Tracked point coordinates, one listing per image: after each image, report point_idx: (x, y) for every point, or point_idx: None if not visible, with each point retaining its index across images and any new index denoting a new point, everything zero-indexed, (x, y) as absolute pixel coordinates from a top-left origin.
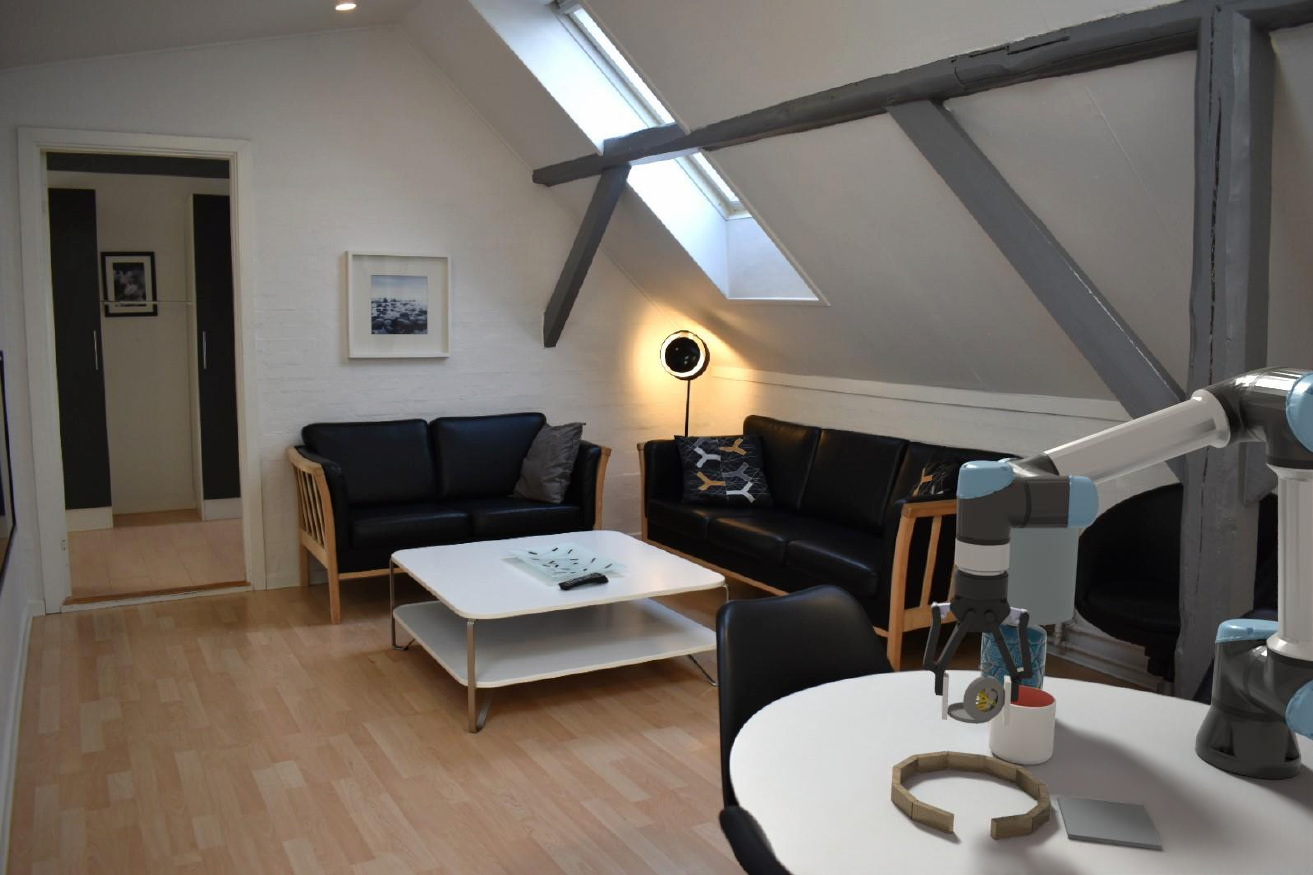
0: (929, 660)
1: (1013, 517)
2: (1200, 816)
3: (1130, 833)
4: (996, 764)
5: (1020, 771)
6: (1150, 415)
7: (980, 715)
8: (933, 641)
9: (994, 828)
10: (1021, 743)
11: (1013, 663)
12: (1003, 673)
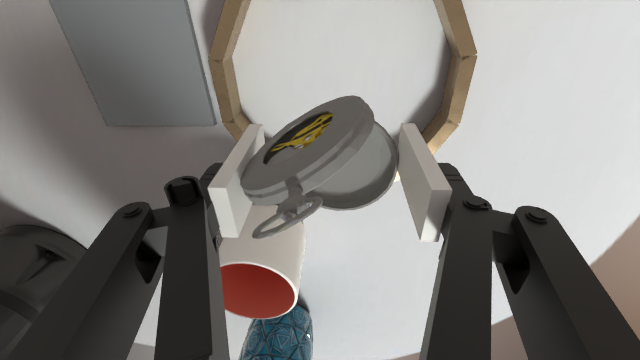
0: (544, 237)
1: None
2: (45, 121)
3: (97, 24)
4: None
5: None
6: None
7: (318, 109)
8: (600, 330)
9: None
10: (261, 219)
11: (169, 242)
12: (284, 349)
